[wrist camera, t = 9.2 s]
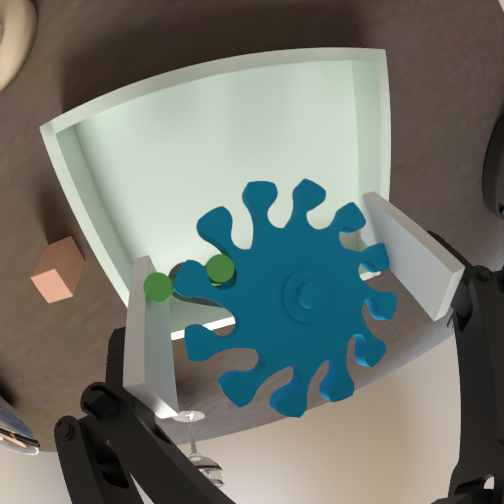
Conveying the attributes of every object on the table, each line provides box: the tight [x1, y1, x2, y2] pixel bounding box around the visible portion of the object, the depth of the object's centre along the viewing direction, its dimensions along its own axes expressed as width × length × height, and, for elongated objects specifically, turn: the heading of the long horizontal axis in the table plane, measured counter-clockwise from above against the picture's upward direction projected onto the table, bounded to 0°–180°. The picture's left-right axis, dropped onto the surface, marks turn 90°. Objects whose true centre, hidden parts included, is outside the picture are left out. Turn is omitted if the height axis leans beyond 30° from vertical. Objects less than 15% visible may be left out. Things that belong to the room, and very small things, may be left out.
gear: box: [143, 178, 397, 417], centre depth 13 cm, size 11×6×10 cm
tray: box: [39, 48, 391, 340], centre depth 18 cm, size 20×18×4 cm
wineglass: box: [173, 411, 225, 488], centre depth 32 cm, size 7×7×12 cm
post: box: [31, 236, 85, 303], centre depth 17 cm, size 2×2×4 cm
